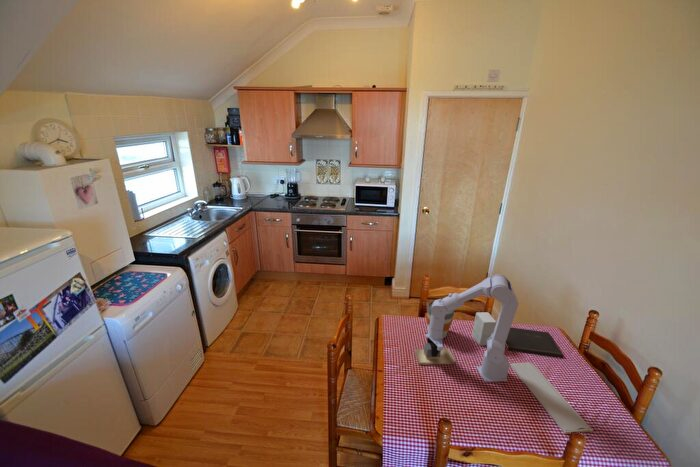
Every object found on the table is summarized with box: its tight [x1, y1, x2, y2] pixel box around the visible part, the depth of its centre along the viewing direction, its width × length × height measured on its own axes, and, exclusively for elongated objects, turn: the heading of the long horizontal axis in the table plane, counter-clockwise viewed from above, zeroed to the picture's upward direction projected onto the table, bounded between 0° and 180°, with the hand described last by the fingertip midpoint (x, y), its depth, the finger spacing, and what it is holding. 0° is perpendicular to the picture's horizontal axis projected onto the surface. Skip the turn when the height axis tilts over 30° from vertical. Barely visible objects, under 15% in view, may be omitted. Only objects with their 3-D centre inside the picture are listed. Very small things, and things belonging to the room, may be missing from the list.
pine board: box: [413, 348, 457, 366], centre depth 133 cm, size 16×8×1 cm, turn 94°
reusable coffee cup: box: [426, 299, 455, 339], centre depth 147 cm, size 13×13×15 cm
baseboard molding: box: [509, 361, 597, 435], centre depth 116 cm, size 31×3×12 cm
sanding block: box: [423, 342, 441, 359], centre depth 132 cm, size 6×4×5 cm, turn 94°
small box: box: [471, 311, 497, 346], centre depth 143 cm, size 8×6×13 cm
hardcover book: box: [505, 326, 564, 359], centre depth 144 cm, size 16×23×2 cm
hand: (432, 352), depth 132 cm, fingers closed on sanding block, 4 cm apart
